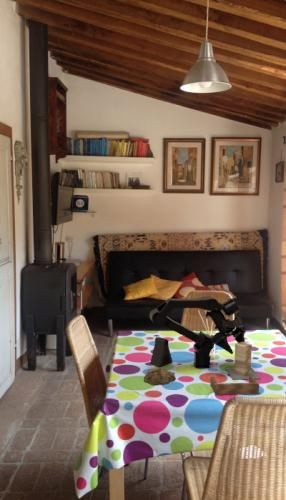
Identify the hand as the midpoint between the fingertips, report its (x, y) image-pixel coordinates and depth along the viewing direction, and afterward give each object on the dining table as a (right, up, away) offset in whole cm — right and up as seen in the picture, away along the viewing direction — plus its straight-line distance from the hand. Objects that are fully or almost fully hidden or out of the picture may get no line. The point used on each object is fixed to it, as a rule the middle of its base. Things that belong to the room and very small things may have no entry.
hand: (239, 351), depth 192 cm
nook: (-6, -12, -16) cm, 20 cm away
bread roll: (-36, -11, -6) cm, 38 cm away
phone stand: (-33, -9, +13) cm, 37 cm away
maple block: (+1, -9, 0) cm, 10 cm away
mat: (+1, -10, 0) cm, 10 cm away
